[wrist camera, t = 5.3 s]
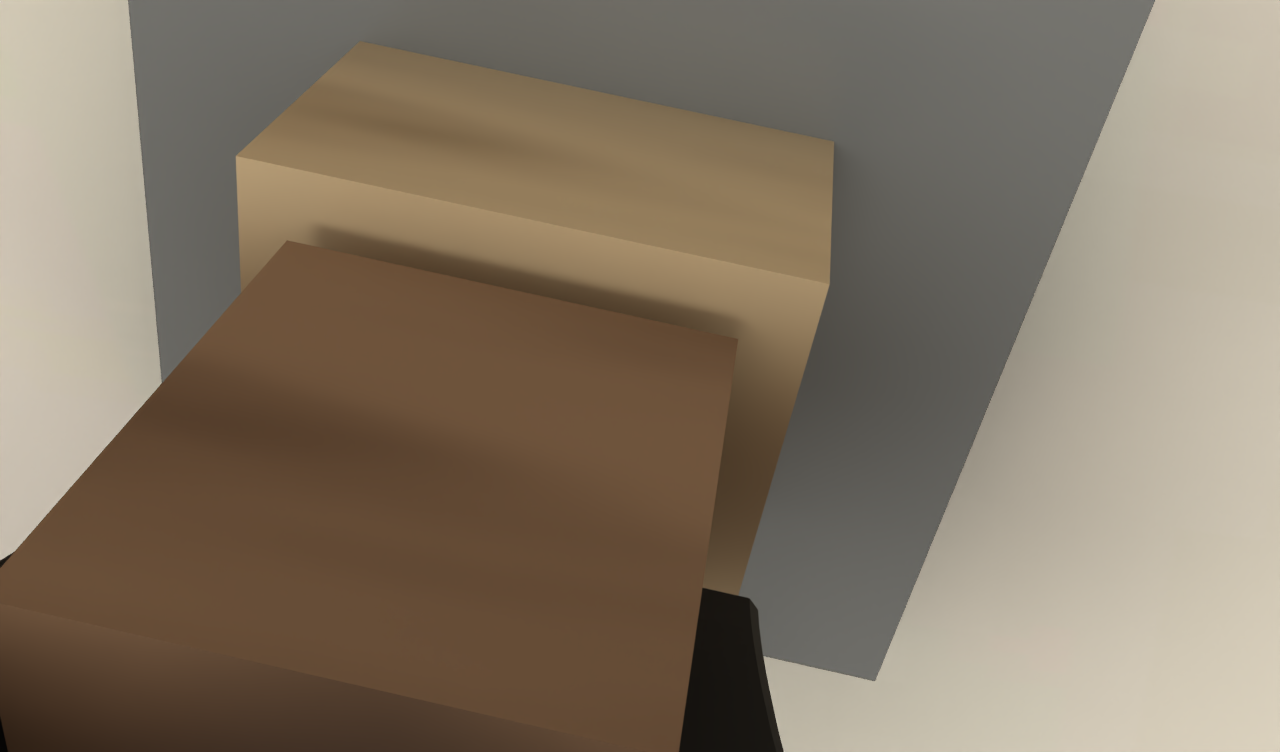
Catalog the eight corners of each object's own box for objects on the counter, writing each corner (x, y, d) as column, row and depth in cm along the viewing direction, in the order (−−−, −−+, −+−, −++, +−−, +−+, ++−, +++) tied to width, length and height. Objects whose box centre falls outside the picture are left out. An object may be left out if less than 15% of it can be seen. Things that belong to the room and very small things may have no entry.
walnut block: (658, 656, 14) (579, 1101, 10) (288, 572, 14) (56, 977, 10) (737, 338, 11) (677, 759, 7) (287, 239, 12) (-25, 598, 7)
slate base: (873, 628, 20) (874, 681, 20) (206, 478, 21) (174, 522, 20) (1154, -83, 14) (1178, -59, 13) (156, -288, 14) (103, -278, 13)
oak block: (733, 506, 18) (711, 688, 15) (350, 421, 18) (252, 584, 15) (834, 141, 14) (829, 284, 12) (359, 41, 15) (236, 156, 12)
